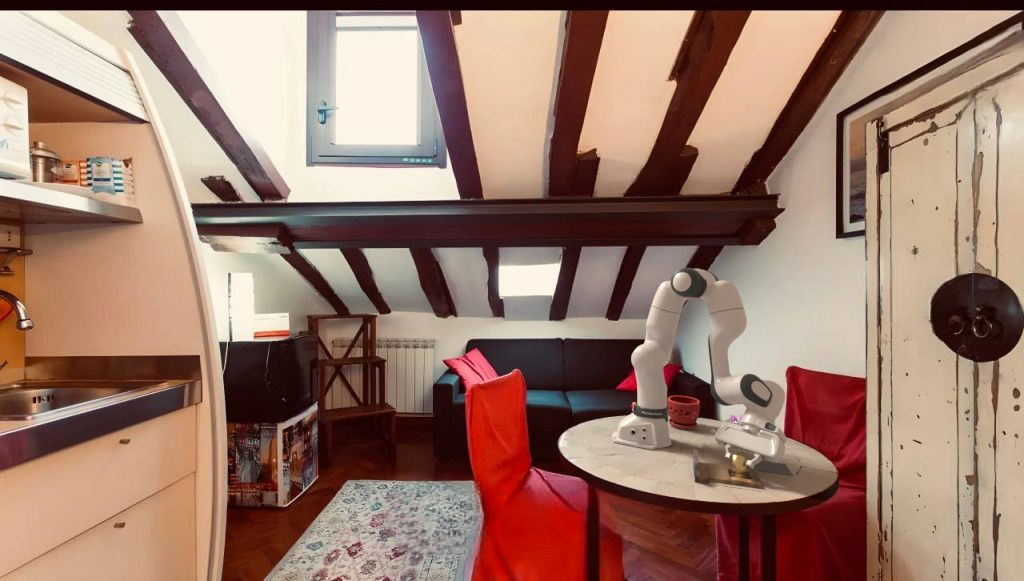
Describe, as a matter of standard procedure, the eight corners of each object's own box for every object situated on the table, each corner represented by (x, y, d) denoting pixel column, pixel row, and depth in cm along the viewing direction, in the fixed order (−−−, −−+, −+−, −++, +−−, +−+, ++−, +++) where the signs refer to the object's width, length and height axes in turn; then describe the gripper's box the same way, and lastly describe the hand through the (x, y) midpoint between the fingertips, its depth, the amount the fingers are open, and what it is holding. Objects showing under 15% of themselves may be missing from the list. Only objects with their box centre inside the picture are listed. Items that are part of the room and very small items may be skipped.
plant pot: (665, 428, 181) (665, 400, 181) (669, 420, 192) (669, 394, 192) (698, 433, 175) (698, 404, 175) (701, 424, 186) (701, 397, 186)
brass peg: (732, 482, 130) (732, 456, 130) (731, 476, 134) (731, 451, 134) (747, 484, 129) (747, 458, 129) (745, 478, 133) (745, 453, 133)
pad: (757, 474, 136) (757, 471, 136) (751, 462, 145) (751, 459, 145) (793, 479, 132) (793, 476, 132) (785, 466, 142) (785, 463, 142)
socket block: (694, 482, 131) (694, 462, 131) (693, 466, 142) (693, 449, 142) (761, 491, 124) (761, 471, 124) (754, 475, 135) (754, 456, 135)
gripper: (721, 412, 144) (703, 446, 139) (785, 429, 127) (767, 469, 121) (728, 423, 146) (711, 457, 141) (792, 441, 129) (775, 481, 124)
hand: (738, 463), depth 131 cm, fingers open, 5 cm apart
